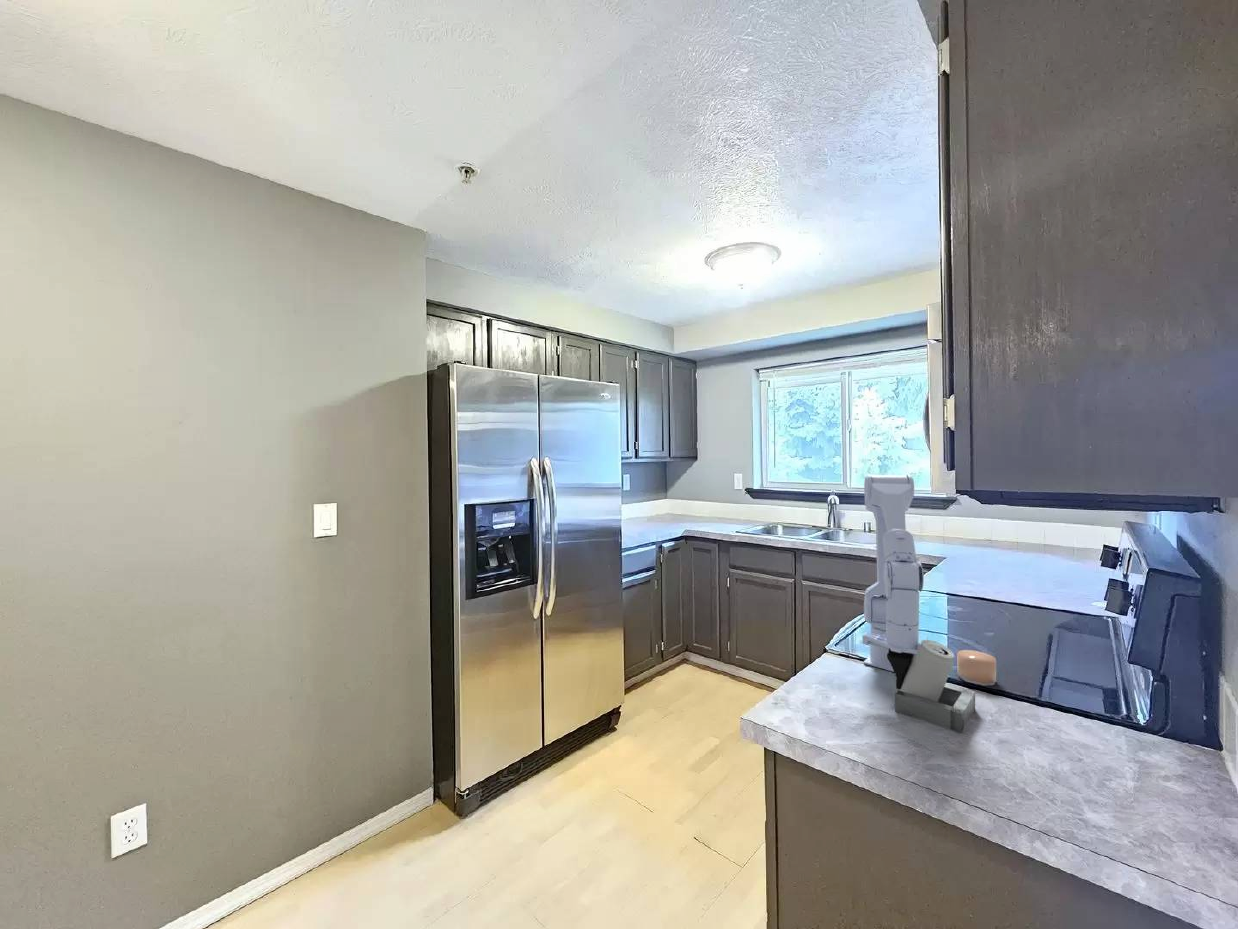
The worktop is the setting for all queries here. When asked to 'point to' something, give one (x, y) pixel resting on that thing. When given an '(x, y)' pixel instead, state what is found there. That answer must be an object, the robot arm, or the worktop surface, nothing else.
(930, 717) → the grey piece
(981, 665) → the peach cylinder plug
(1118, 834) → the worktop surface
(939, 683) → the beverage can
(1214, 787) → the worktop surface
